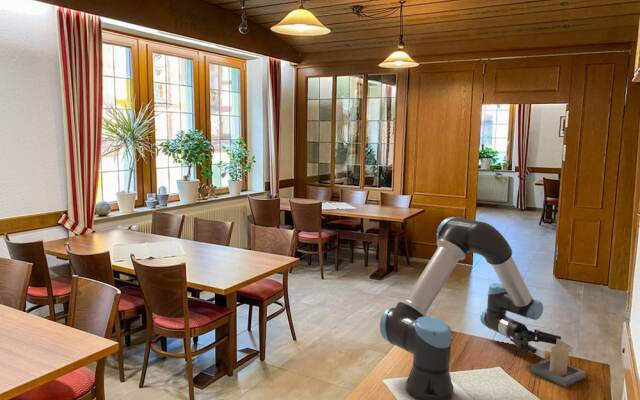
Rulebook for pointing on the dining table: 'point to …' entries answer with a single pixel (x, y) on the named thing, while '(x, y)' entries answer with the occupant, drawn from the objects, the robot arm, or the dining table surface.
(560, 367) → the candle
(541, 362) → the charcoal dish
